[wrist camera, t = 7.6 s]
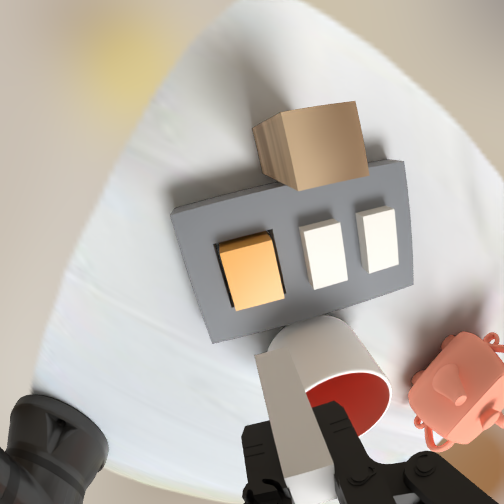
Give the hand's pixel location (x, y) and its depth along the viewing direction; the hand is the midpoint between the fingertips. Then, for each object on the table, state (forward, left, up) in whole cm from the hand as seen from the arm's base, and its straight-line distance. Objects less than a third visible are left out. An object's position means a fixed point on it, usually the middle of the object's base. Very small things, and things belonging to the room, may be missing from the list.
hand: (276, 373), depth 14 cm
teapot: (+23, -23, -16) cm, 37 cm away
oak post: (+5, +9, -16) cm, 19 cm away
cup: (+4, -12, -16) cm, 21 cm away
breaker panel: (+5, 0, -16) cm, 17 cm away
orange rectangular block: (0, 0, -15) cm, 15 cm away
